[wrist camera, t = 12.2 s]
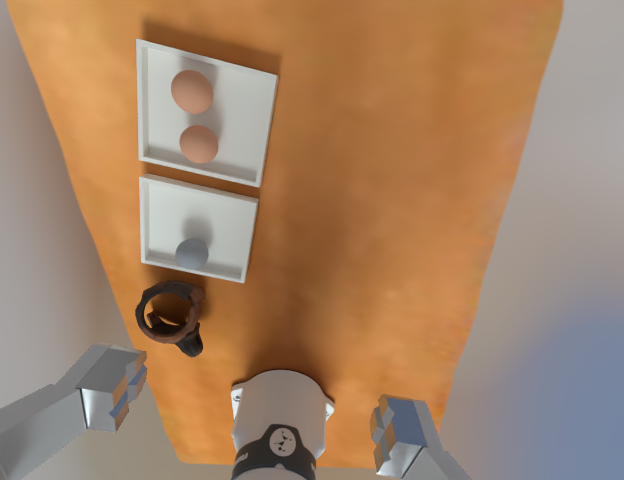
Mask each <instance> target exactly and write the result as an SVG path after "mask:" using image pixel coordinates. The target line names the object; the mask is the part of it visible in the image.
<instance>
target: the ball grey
mask: <svg viewBox="0 0 624 480" xmlns="http://www.w3.org/2000/svg"><path fill="white" fill-rule="evenodd" d="M175 256H176V260H177V262H178V263H179V264H180V265H181V266H182V267H183V268H186V269H190V270H194V269H198V268H200V267H202V266H203V265H204V264H205V263H206V262H207V260H208V256H209V251H208V248H207V246H206V245H205V244H204V243H203V242H202V241H200V240H198V239H187V240H185V241H183V242H181V243H180V244H179V245H178V247H177V249H176V253H175Z"/></svg>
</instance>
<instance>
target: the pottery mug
mask: <svg viewBox="0 0 624 480" xmlns="http://www.w3.org/2000/svg"><path fill="white" fill-rule="evenodd" d="M161 293H173V294H176V295H178V296H180V297H182V298H183V299H184V300H185V301H187V299H188V298H189V300H190V302H191V305H192V306H191V307H190V308H189V319H188V321H187V323H186V324H183V325H171V324H167V323H165V322H163V321H162V320H161V319H160V317H159V316H158V315H157V313H156V311H152V312H151V313H149V314H147V318H148V320H149V322H150V325H151V326H152V328H150V327H149V326H148V325H147V324H146V322H145V319H144V309H145V306H146V304H147V303H148V301H149V300H150V299H151V298H153V297H154V296H156V295H158V294H161ZM204 298H205V293H204V292H203V290H202V289H201V288H200V287H196V288H195V286H194V285H192V284H189V283H185V282H181V281H167V282H166V283H163V282H161V283H158V284H156V285H154V286H153V287H151V288H149V289H146V290H144V291H143V294H142V300H141V302H140V303H139V305H137V308H136V310H135V315H136V319H137V323H138V325H139V327H140V328H141V330H142V332H143V333H144V334H145V335H146V336H148V337H149V338H150V339H152V340H154V341H157V342H160V343H170V344H175V345H177V346H178V347H179V348H180V349H181V351H182V352H183V353H185V354H186V355H188V356H190V357H196V356H197V355H199V354H200V353H201V352H202V350H203V343H202V340H201V337H200V334H199V327H200V323H199V322H198V318H199V314H200V303H199V301H200V300H202V299H204Z"/></svg>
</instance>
